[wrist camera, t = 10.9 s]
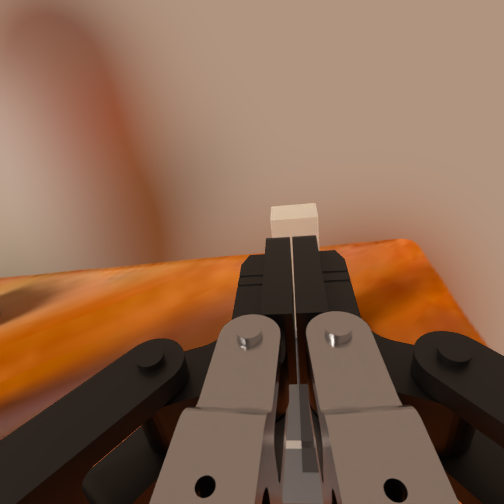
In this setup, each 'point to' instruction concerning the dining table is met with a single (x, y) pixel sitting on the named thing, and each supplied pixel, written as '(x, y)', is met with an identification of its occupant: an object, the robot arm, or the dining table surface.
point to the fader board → (300, 449)
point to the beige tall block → (294, 226)
